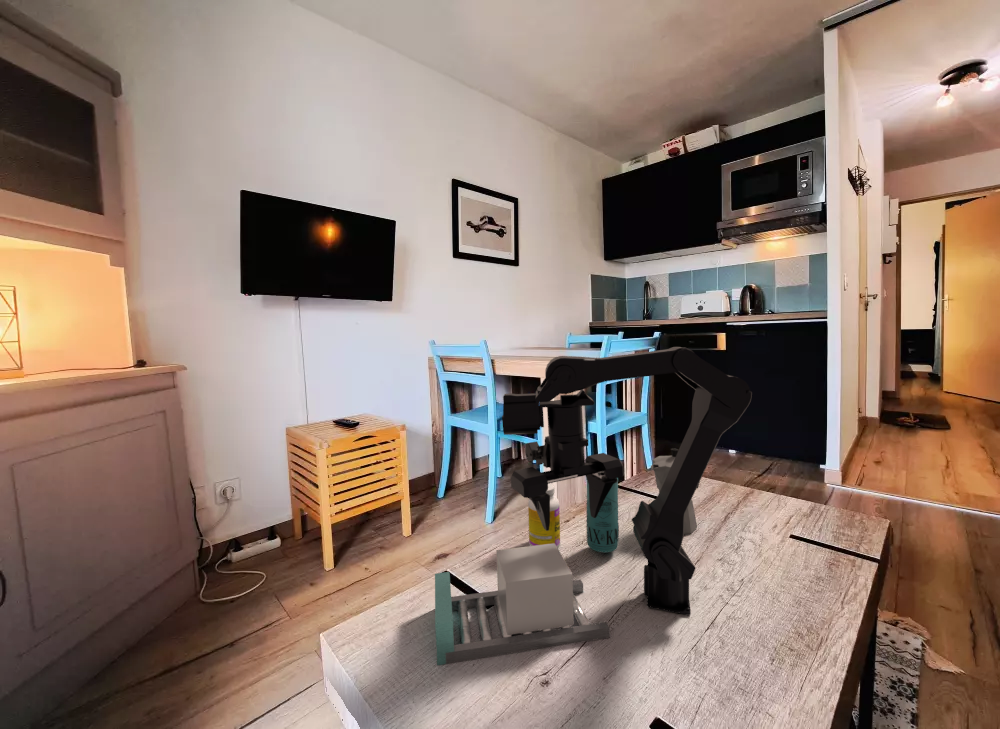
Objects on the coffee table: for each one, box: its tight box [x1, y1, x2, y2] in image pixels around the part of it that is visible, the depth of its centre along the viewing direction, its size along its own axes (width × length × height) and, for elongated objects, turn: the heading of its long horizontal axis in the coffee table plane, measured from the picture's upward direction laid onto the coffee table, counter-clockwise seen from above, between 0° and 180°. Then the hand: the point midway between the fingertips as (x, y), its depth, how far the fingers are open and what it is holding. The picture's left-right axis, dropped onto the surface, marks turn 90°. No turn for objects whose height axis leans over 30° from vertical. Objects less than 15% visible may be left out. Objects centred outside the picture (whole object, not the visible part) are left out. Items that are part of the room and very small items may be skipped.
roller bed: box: [434, 571, 611, 666], centre depth 64 cm, size 12×25×6 cm, turn 99°
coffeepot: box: [650, 448, 701, 535], centre depth 93 cm, size 15×9×18 cm, turn 112°
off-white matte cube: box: [495, 543, 574, 636], centre depth 64 cm, size 10×9×8 cm
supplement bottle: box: [527, 483, 561, 549], centre depth 86 cm, size 7×7×13 cm
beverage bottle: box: [585, 478, 620, 553], centre depth 83 cm, size 6×7×20 cm
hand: (570, 523), depth 69 cm, fingers open, 9 cm apart
